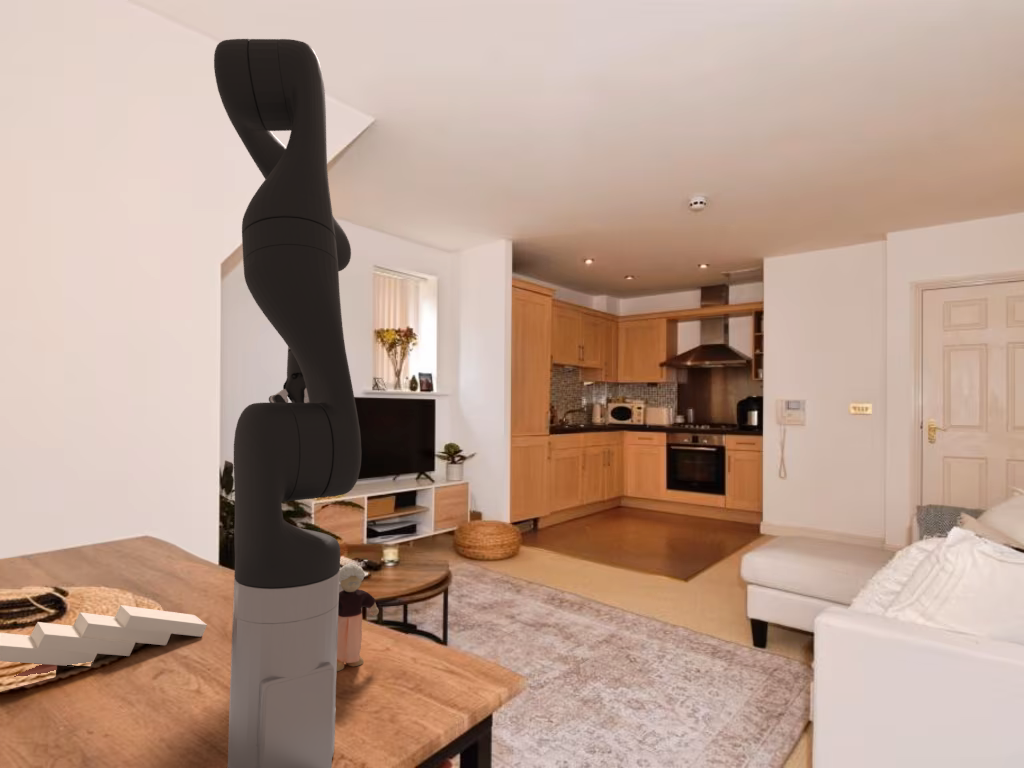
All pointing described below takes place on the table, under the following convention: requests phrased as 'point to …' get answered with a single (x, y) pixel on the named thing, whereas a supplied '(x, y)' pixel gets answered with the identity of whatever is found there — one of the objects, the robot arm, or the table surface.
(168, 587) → the table surface
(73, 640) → the domino
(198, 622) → the domino
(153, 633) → the domino
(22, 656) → the domino
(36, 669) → the domino
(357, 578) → the grandmother figurine
